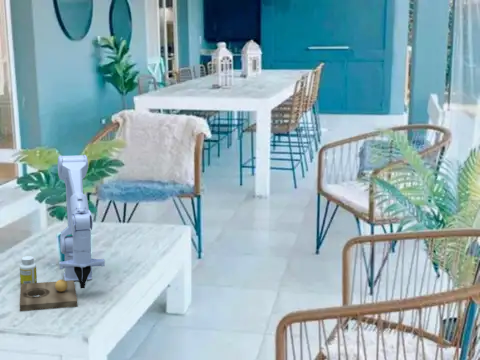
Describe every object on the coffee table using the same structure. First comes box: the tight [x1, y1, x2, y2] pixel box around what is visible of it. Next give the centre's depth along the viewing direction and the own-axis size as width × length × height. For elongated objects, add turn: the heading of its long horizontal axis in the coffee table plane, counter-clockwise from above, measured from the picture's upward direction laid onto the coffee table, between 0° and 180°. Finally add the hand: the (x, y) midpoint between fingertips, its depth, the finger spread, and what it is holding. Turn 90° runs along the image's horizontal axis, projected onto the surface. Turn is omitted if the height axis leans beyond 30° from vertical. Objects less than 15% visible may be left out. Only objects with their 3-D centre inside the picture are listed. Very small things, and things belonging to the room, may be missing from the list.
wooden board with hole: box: [19, 280, 78, 312], centre depth 216 cm, size 18×18×2 cm
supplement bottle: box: [19, 255, 38, 285], centre depth 226 cm, size 5×5×10 cm
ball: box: [55, 279, 68, 292], centre depth 217 cm, size 4×4×4 cm
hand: (82, 287), depth 219 cm, fingers closed
